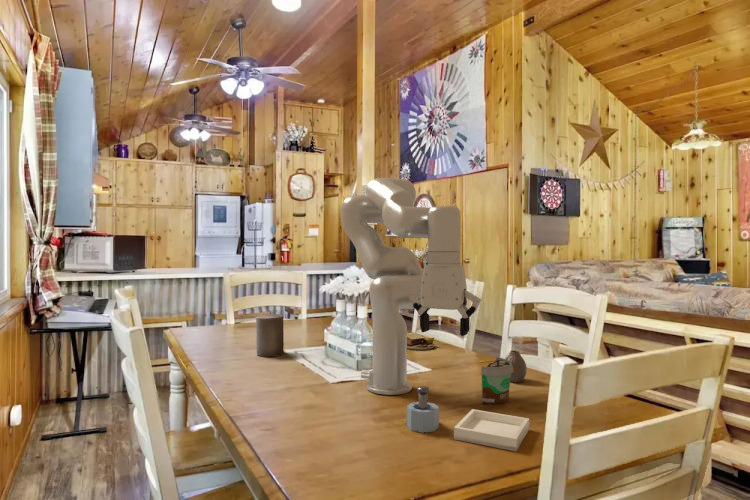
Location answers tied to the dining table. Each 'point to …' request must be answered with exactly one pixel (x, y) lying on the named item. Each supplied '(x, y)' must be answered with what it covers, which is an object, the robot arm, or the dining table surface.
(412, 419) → the ring
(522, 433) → the tray
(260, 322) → the pillar candle
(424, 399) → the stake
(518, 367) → the vase
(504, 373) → the food container
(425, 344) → the toy sandwich meal
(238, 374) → the dining table surface
